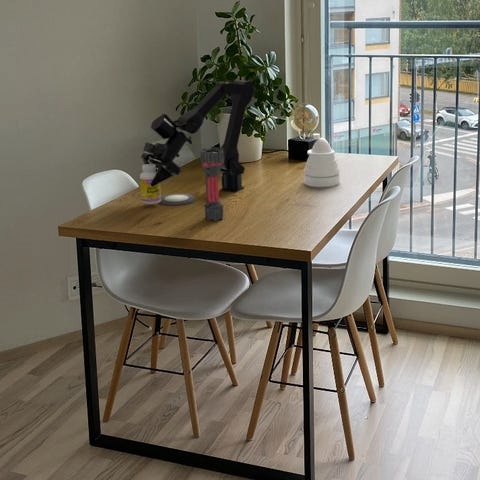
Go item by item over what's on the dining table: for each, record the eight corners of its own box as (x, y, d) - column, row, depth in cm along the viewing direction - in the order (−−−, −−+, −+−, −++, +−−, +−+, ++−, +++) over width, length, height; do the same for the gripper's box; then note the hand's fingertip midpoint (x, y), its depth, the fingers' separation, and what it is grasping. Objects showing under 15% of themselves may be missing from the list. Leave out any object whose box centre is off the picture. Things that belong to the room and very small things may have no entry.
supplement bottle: (146, 206, 299) (143, 168, 295) (138, 201, 305) (135, 165, 301) (164, 202, 302) (161, 166, 298) (156, 198, 308) (154, 162, 304)
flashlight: (218, 224, 280) (215, 152, 273) (198, 221, 284) (194, 150, 277) (231, 217, 286) (229, 147, 279) (211, 214, 290) (208, 146, 283)
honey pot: (299, 185, 323) (299, 137, 318) (310, 177, 334) (310, 130, 329) (333, 188, 318) (333, 138, 313) (343, 179, 330) (343, 131, 324)
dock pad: (202, 197, 311) (202, 195, 311) (182, 207, 300) (182, 204, 300) (171, 194, 317) (171, 192, 317) (150, 203, 307) (150, 200, 306)
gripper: (143, 129, 305) (117, 165, 303) (170, 136, 291) (143, 175, 288) (164, 148, 312) (139, 184, 310) (192, 156, 297) (166, 194, 295)
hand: (146, 184), depth 300 cm, fingers closed on supplement bottle, 7 cm apart
